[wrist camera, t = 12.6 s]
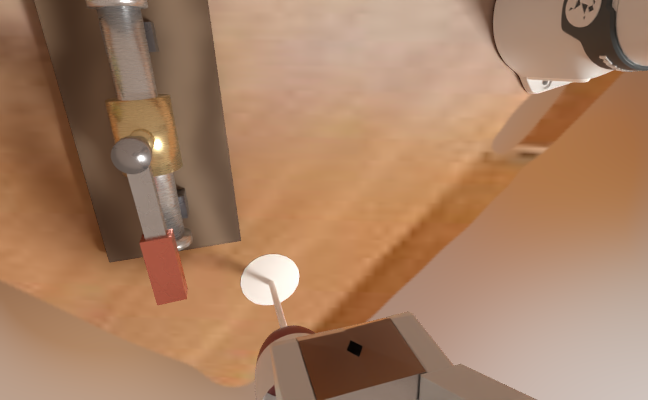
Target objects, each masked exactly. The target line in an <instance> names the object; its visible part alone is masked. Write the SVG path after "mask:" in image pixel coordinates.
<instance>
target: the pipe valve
mask: <svg viewBox="0 0 648 400" xmlns="http://www.w3.org/2000/svg"><path fill="white" fill-rule="evenodd" d="M85 1H86V5H87V8H88V9H95V10H97V14H98V19H99V25H100V29H101V34H102V38H103V42H104V46H105V50H106V54H107V57H108V61H109V65H110V69H111V74H112V78H113V82H114V86H115V91H116V95H117V98H112V99H107V100H105V105H106V109H107V113H108V117H109V121H110V125H111V129H112V133H113V138H114V142H115V144H116V143H117V142H118V141H119V140H120V139H122V138H124V137H126V136H143V137H145V138H146V139H147V140H148V142H149V145H150V147H151V149H152V153H153V157H152V160H151V163H150V164H151V168H152V172H153V176H154V180H155V184H156V188H157V192H158V196H159V200H160V204H161V208H162V212H163V215H164V219H165V223H166V227H167V230H168V229H173V232H174V236H175V240H176V244H177V248H178V251H180V250H183V249H185V248H186V247H188V246H189V245H190V244H191V243H192V241H193V238H192V233H191V230H190V229H188V228H185V227H184V225H183V220H182V219H184V218H188V214H189V207H188V202H187V196H186V191H185V189H177V190H176V185H175V180H174V175H173V172H175V171H177V170H179V169H180V168H182V167H183V162H182V157H181V151H180V146H179V141H178V135H177V130H176V125H175V119H174V114H173V109H172V103H171V98H170V95H169V94H157V89H156V84H155V79H154V74H153V69H152V64H151V59H150V54H149V52H159V48H158V43H157V37H156V32H155V27H154V23H152V22H143V18H142V13H141V9H145V8H148V3H147V0H85ZM122 174H123V175H124V176H125V177H127V173H124V172H122Z"/></svg>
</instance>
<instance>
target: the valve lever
mask: <svg viewBox="0 0 648 400" xmlns="http://www.w3.org/2000/svg"><path fill="white" fill-rule="evenodd" d="M152 157H153V153H152V149H151V147H150V145H149V142H148V140H147V139H146V138H145V137H143V136H126V137H124V138H122V139H120V140H119V141H118V142H117V143H116V144H115V145H114V146H113V148H112V150H111V160H112V162H113V164H114V165H115V167H116V168H117V169H118V170H120V171H122V172H124V173H127V177H128V180H129V184H130V187H131V191H132V195H133V198H134V202H135V205H136V209H137V212H138V216H139V219H140V223H141V227H142V230H143V234H142V237H141V240H140V247H141V250H142V254H143V257H144V261H145V264H146V268H147V271H148V275H149V278H150V281H151V285H152V288H153V292H154V295H155V299H156V302H157V305H161V304H166V303H170V302H175V301H179V300H184V299H187V289H188V288H187V284H186V280H185V276H184V272H183V268H182V264H181V260H180V256H179V252H178V248H177V244H176V240H175V236H174V232H173V229H168V230H167V227H166V223H165V219H164V215H163V212H162V208H161V204H160V200H159V196H158V192H157V188H156V184H155V180H154V176H153V172H152V168H151V164H150V163H151V160H152Z"/></svg>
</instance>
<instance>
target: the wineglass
mask: <svg viewBox="0 0 648 400" xmlns="http://www.w3.org/2000/svg"><path fill="white" fill-rule="evenodd" d="M298 282H299V271H298V268H297V266H296V265H295V263H294V262H293V261H292V260H290V259H289V258H288V257H286V256H282V255H279V254H268V255H264V256H261V257H258V258H257V259H255V260H254V261H252V262H251V263H250V264H249V265H248V266H247V267H246V268H245V270H244V272H243V274H242V276H241V288H242V291H243V293H244V295H245V296H246V297H247V298H248V299H249V300H250V301H252V302H254V303H256V304H260V305H273V304H274V306H275V310H276V314H277V318H278V321H279V325H280V329H278V330H276V331H274V332H273V333H272V334H270V335H269V337H268V338H267V339H266V340H265V342H264V343H263V345H262V347H261V349H260V352H259V355H258V358H257V363H256V370H255V395H256V400H277V399H276V393H275V385H274V377H273V368H272V360H271V351H270V343H274V342H279V341H284V340H288V339H293V338H295V339H296V337H301V336H306V335H310V334H315V333H314V332H313V331H311V330H309V329H307V328H304V327H301V326H287V324H286V320H285V317H284V314H283V310H282V307H281V303H280V302H282V301H284V300H285V299H287V298H288V297H289V296H290V295H291V294H292V293H293V292H294V291H295V289H296V287H297V285H298Z"/></svg>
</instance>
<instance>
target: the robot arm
mask: <svg viewBox="0 0 648 400" xmlns="http://www.w3.org/2000/svg"><path fill="white" fill-rule="evenodd" d="M493 32H494V39H495V43H496V46H497V49H498V52H499V54H500V56H501V57H502V59H503V60H504V62H505V63H506V64H507V65H508V66H509V67H510V68H511V69H512V70H514V71H515V72H516V73H517V74H518V75H519V77H520V79H521V82H522V84H523V87H524V89H525V90H526V91H527V92H528V93H530V94H537V93H541V92H544V91H547V90H550V89H553V88H556V87H559V86H562V85H566V84H569V83H572V82H588V81H589V80H590V78H594V77H598V76H600V75H603V74H605V73H608V72H610V71H613V70H618V71H626V72H632V71H645V70H648V0H496V3H495V8H494V16H493ZM543 80H544V81H543ZM542 81H543V83H542ZM270 351H271V360H272V368H273V377H274V385H275V393H276V399H277V400H536V399H534V398H532V397H530V396H528V395H526V394H523V393H522V392H519V391H517V390H515V389H513V388H511V387H509V386H507V385H505V384H502V383H500V382H498V381H496V380H494V379H492V378H490V377H487V376H485V375H483V374H481V373H479V372H477V371H475V370H473V369H471V368H468V367H466V366H464V365H462V364H458V365H453V364H452V363H451V361H450V360H449V359H448V358H447V356H446V355H445V354H444V352H443V351H442V350H441V349H440V347H439V346H438V345H437V344H436V342H435V341H434V340H433V339H432V337H431V336H430V335H429V334H428V332H427V331H426V330H425V329H424V327H423V326H422V325H421V324H420V322H419V321H418V320H417V319H416V317H415V316H414V315H413V314H412V313H410V312H404V313H401V314H396V315H392V316H389V317H386V318H382V319H378V320H373V321H369V322H365V323H361V324H357V325H352V326H348V327H344V328H340V329H335V330H330V331H325V332H320V333H315V334H310V335H306V336H301V337H296V339H295V338H293V339H288V340H284V341H279V342H274V343H270Z"/></svg>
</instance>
